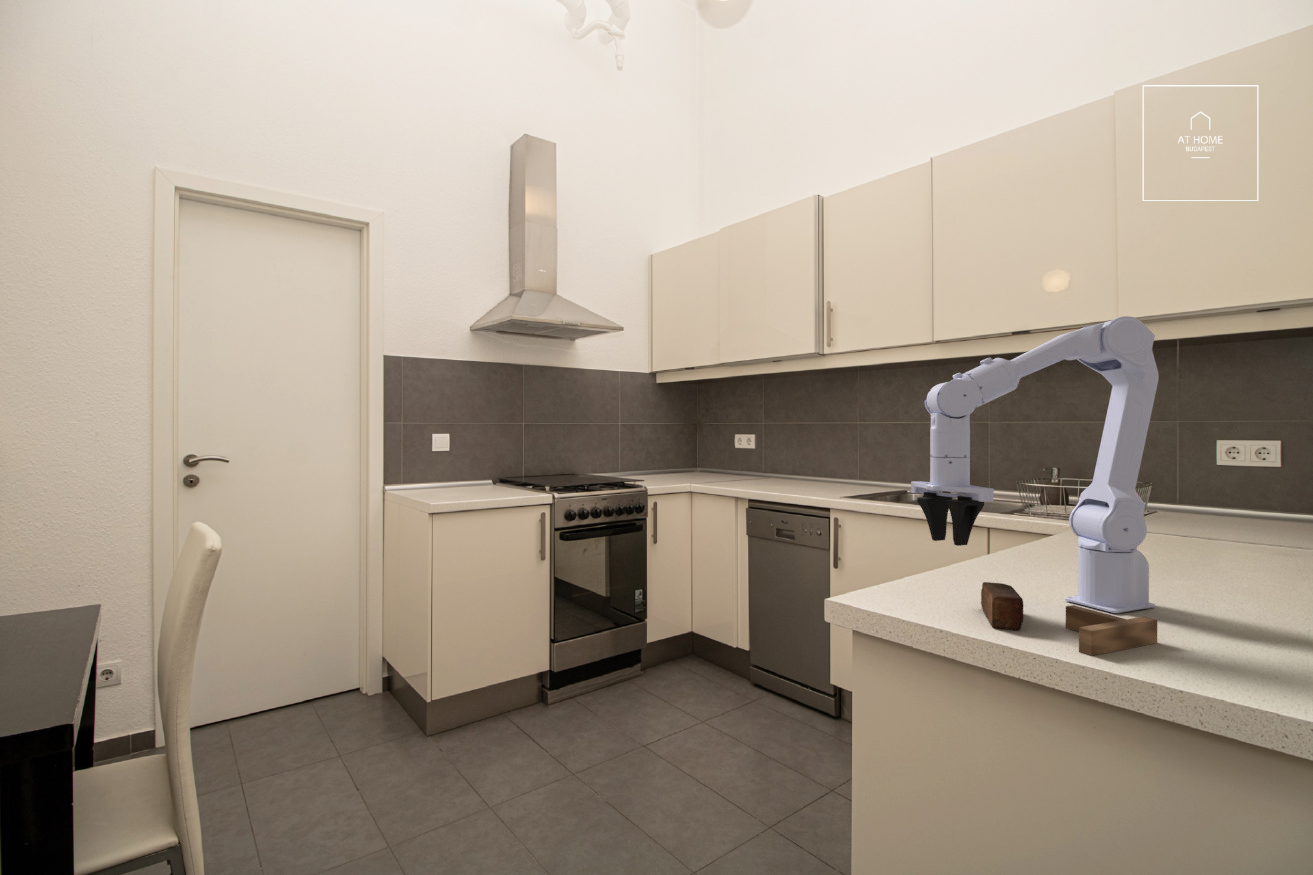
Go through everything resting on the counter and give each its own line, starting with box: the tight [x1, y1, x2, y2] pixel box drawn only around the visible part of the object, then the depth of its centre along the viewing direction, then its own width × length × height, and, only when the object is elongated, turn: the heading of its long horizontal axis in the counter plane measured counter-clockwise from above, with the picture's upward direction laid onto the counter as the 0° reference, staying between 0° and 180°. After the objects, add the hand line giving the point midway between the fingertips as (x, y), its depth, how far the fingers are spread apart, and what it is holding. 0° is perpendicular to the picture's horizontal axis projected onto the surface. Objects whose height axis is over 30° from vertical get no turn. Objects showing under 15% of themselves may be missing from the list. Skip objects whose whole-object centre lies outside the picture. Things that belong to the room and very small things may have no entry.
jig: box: [1065, 604, 1158, 657], centre depth 82 cm, size 12×8×3 cm
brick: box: [980, 581, 1025, 632], centre depth 90 cm, size 11×4×5 cm, turn 160°
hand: (949, 542), depth 99 cm, fingers open, 4 cm apart
